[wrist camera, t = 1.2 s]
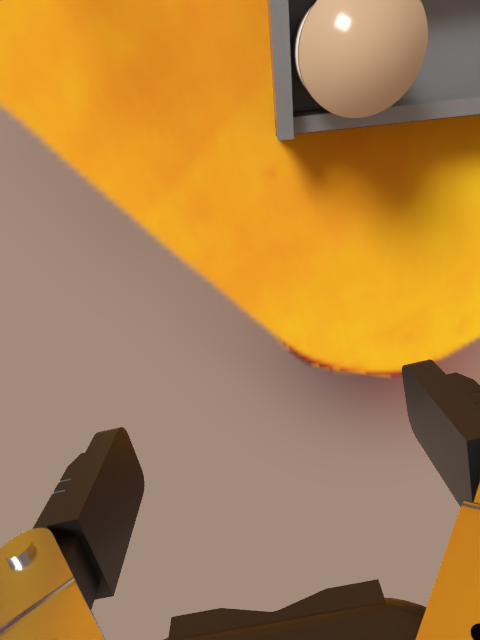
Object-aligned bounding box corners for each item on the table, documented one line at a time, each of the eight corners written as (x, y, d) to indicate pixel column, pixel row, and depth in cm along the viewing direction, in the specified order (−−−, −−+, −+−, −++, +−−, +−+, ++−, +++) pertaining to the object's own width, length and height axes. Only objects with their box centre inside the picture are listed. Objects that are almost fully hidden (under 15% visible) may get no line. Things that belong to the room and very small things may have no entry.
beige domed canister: (286, -1, 28) (296, -21, 21) (386, -14, 28) (435, -40, 20) (291, 105, 32) (301, 124, 24) (380, 95, 31) (421, 111, 23)
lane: (265, -33, 28) (267, -52, 23) (689, -93, 26) (793, -128, 21) (275, 133, 34) (278, 148, 28) (630, 96, 31) (703, 104, 26)
